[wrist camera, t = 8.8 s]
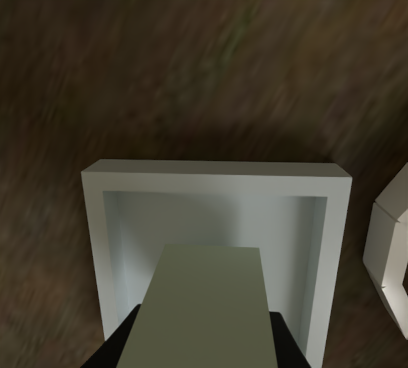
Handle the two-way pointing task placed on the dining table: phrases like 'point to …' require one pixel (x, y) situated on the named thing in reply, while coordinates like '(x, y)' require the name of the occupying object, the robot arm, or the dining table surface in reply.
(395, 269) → the collar
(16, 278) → the dining table surface
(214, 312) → the peg
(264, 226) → the tray
